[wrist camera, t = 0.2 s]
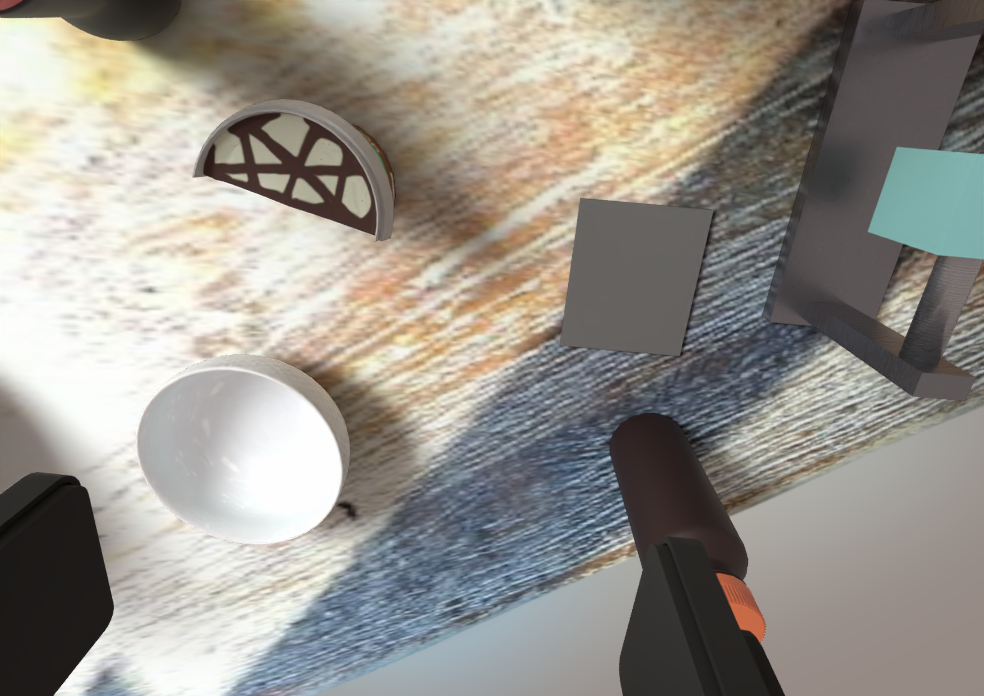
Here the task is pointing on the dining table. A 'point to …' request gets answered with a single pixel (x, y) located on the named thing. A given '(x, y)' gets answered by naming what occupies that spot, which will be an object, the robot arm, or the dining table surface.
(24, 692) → the robot arm
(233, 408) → the cereal bowl
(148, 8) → the cola bottle
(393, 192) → the food container
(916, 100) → the stand
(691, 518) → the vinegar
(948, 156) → the teal u-channel
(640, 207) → the mat
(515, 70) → the dining table surface
